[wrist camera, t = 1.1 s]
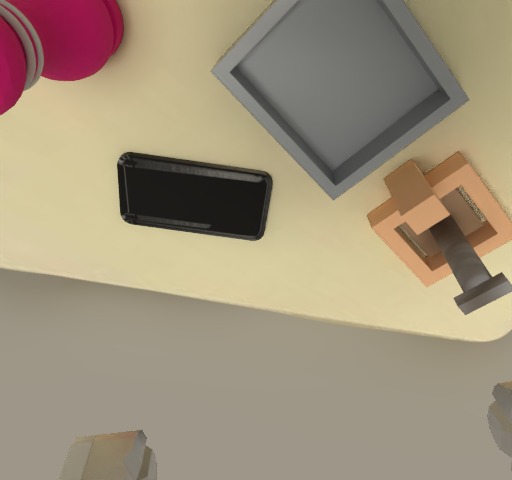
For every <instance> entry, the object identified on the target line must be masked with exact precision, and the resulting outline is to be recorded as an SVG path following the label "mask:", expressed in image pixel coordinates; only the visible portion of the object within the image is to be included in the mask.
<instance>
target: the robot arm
mask: <svg viewBox="0 0 512 480" xmlns="http://www.w3.org/2000/svg"><path fill="white" fill-rule="evenodd" d="M492 394H493V396H494V398H495V399H496V401H495V402H494V403H493V404H491V405H490V406H489V410H488V415H487V417H488V422H489V428H490V430H491V433H492V435H493V438H494V440H495V442H496V443H497V445H498V447H499V449H500V450H502V451H503V452H504V453H506V454H507V455H509V456H510V457H512V382H505V383H498V384H497V385H495V386H494V389H493V393H492ZM146 439H147V437H146V436H145V434H144V432H143V430H136V431H127V432H119V433H111V434H102V435H92V436H85V437H77V438H76V439H75V441H74V442H73V443H72V445H71V447H70V449H69V452H68V455H67V458H66V461H65V463H64V466H63V469H62V471H61V474H60V477H59V480H157V463H156V458H155V454H154V452H153V450H152V449H151V448H149V447H147V446H146ZM511 470H512V466H511Z"/></svg>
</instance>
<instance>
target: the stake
mask: <svg viewBox="0 0 512 480" xmlns="http://www.w3.org/2000/svg"><path fill="white" fill-rule="evenodd" d="M440 200H441V201H442V203H443V204H444V206H445V207H446V209H447V210H448V212H449V214H450V215H449V216H447V217H446V218H444V219H443V220H441V221H439V222H438V223H436V224H435V225H433V226H431V227H430V228H428V229H427V230H425V231H423V232H422V233H420V234H419V235H417V234H416V233H415V232H414V231H413V229H412V228H411V227H410V226H409V225H408V224H407V223H406V221H405V222H404V223H402V224H401V226H402V227H403V228H404V229H405V230H406V231H407V232H408V234H409V235H410V236H411V237H412V238H413V239H414V240H415V241H416V243H417V244H418V245H419V246H420V247H421V248H422V249H423V250H424V252H425V253H426V254H427V255H428V256H429V257H431V256H433V255H435V254H436V253H438V252H440V251H441V252H442V254H443V255H444V257H445V259H446V261H447V263H448V265H449V266H450V268H451V270H452V272H453V274H454V276H455V277H456V279H457V281H458V283H459V285H460V287H461V288H462V290H463V292H464V293H462V294H460V295H458V296H456V297H455V298H454V300H455V302H456V304H457V306H458V307H459V308H460V309H461V311H462V312H463V313H464V314H465V315H467V314H469V313H471V312H472V311H474V310H476V309H478V308H480V307H482V306H484V305H486V304H488V303H490V302H492V301H494V300H496V299H498V298H500V297H502V296H504V295H506V294H508V293H510V292H512V285H511V284H510V282H509V281H508V279H507V278H506V277H505V276H504V274H503V273H502V272H501V273H500V274H498V275H496V276H494V277H492V276H491V275H490V273H489V272H488V270H487V269H486V267H485V266H484V264H483V263H482V261H481V260H480V258H479V257H478V255H477V254H476V252H475V250H474V249H473V247H472V246H471V244H470V243H469V241H468V240H467V238H466V237H465V236H467V235H468V234H470V233H472V232H473V231H475V230H477V229H478V228H480V227H482V226H483V225H484V224H483V223H482V222H481V220H480V219H479V218H478V216H477V215H476V214H475V212H474V211H473V210H472V209H471V207H470V206H469V205H468V203H467V202H466V201H465V199H464V198H463V197H462V196H461V194H460V193H459V192H458V190H457V189H454V190H453V191H451V192H450V193H448V194H447V195H445V196H443V197H442V198H440Z"/></svg>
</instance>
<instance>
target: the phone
mask: <svg viewBox="0 0 512 480" xmlns="http://www.w3.org/2000/svg"><path fill="white" fill-rule="evenodd" d="M117 169H118V184H119V199H120V213H121V217H122V218H123V220H124V221H125V222H127V223H129V224H134V225H141V226H148V227H156V228H163V229H170V230H178V231H185V232H192V233H200V234H207V235H214V236H221V237H229V238H236V239H243V240H251V241H256V240H259V239H261V238H262V237H263V235H264V231H265V225H266V219H267V213H268V207H269V202H270V196H271V190H272V178H271V176H270V175H269V174H268V173H266V172H264V171H259V170H252V169H245V168H238V167H231V166H224V165H217V164H210V163H203V162H196V161H189V160H182V159H175V158H168V157H161V156H154V155H147V154H140V153H133V152H127V153H124V154H123V155H122V156H121V157H120V158H119V160H118V163H117Z"/></svg>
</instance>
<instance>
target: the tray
mask: <svg viewBox="0 0 512 480" xmlns="http://www.w3.org/2000/svg"><path fill="white" fill-rule="evenodd" d="M211 72H212V73H213V74H214V75H215V77H216V78H217V79H218V80H219V81H220V82H221V83H222V84H223V85H224V86H225V87H226V88H227V89H228V90H229V91H230V92H231V93H232V94H233V95H234V96H235V98H236V99H237V100H238V101H239V102H240V103H241V104H242V105H243V106H244V107H245V108H246V109H247V110H248V111H249V112H250V113H251V114H252V115H253V116H254V117H255V119H256V120H257V121H258V122H259V123H260V124H261V125H262V126H263V127H264V128H265V129H266V130H267V131H268V132H269V133H270V134H271V135H272V136H273V137H274V138H275V140H276V141H277V142H278V143H279V144H280V145H281V146H282V147H283V148H284V149H285V150H286V151H287V152H288V153H289V154H290V155H291V156H292V157H293V158H294V160H295V161H296V162H297V163H298V164H299V165H300V166H301V167H302V168H303V169H304V170H305V171H306V172H307V173H308V174H309V175H310V176H311V177H312V178H313V179H314V181H315V182H316V183H317V184H318V185H319V186H320V187H321V188H322V189H323V190H324V191H325V192H326V193H327V194H328V195H329V196H330V197H331V198H332V199H333V200H335V199H336V198H338V197H339V196H340V195H342V194H343V193H344V192H346V191H347V190H348V189H350V188H351V187H352V186H354V185H355V184H356V183H358V182H359V181H361V180H362V179H363V178H365V177H366V176H367V175H369V174H370V173H371V172H373V171H374V170H375V169H377V168H378V167H379V166H381V165H382V164H383V163H385V162H386V161H388V160H389V159H390V158H392V157H393V156H394V155H396V154H397V153H398V152H400V151H401V150H402V149H404V148H405V147H406V146H408V145H409V144H411V143H412V142H413V141H415V140H416V139H417V138H419V137H420V136H421V135H423V134H424V133H425V132H427V131H428V130H429V129H431V128H432V127H433V126H435V125H436V124H438V123H439V122H440V121H442V120H443V119H444V118H446V117H447V116H448V115H450V114H451V113H452V112H454V111H455V110H456V109H458V108H459V107H460V106H462V105H463V104H465V103H466V102H467V101H469V98H468V97H467V95H466V94H465V92H464V91H463V89H462V88H461V86H460V85H459V83H458V82H457V80H456V79H455V77H454V76H453V74H452V73H451V71H450V70H449V68H448V67H447V65H446V64H445V62H444V61H443V59H442V58H441V56H440V55H439V53H438V52H437V50H436V49H435V47H434V46H433V44H432V43H431V41H430V40H429V38H428V37H427V35H426V34H425V32H424V31H423V29H422V28H421V26H420V25H419V23H418V22H417V20H416V19H415V17H414V16H413V14H412V13H411V11H410V10H409V8H408V7H407V5H406V4H405V2H404V1H403V0H274V1H273V2H272V3H271V4H270V5H269V6H268V7H267V8H266V10H265V11H264V12H263V13H262V14H261V15H260V16H259V17H258V18H257V19H256V20H255V21H254V22H253V24H252V25H251V26H250V27H249V28H248V29H247V30H246V31H245V32H244V33H243V34H242V35H241V36H240V38H239V39H238V40H237V41H236V42H235V43H234V44H233V45H232V46H231V47H230V48H229V49H228V51H227V52H226V53H225V54H224V55H223V56H222V57H221V58H220V59H219V60H218V61H217V63H216V64H215V66H214V67H213V69H212V71H211Z"/></svg>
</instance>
